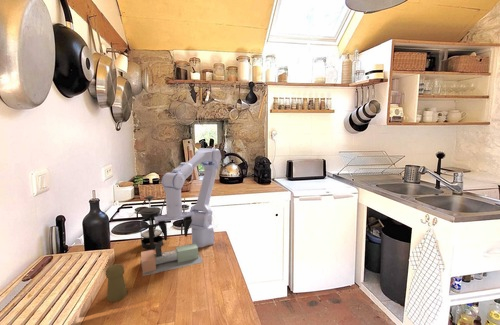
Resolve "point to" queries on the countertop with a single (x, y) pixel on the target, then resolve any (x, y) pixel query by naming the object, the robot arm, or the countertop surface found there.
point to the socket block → (148, 261)
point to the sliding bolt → (164, 255)
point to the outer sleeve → (187, 252)
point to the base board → (172, 265)
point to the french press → (150, 227)
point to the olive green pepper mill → (115, 283)
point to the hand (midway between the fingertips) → (175, 237)
